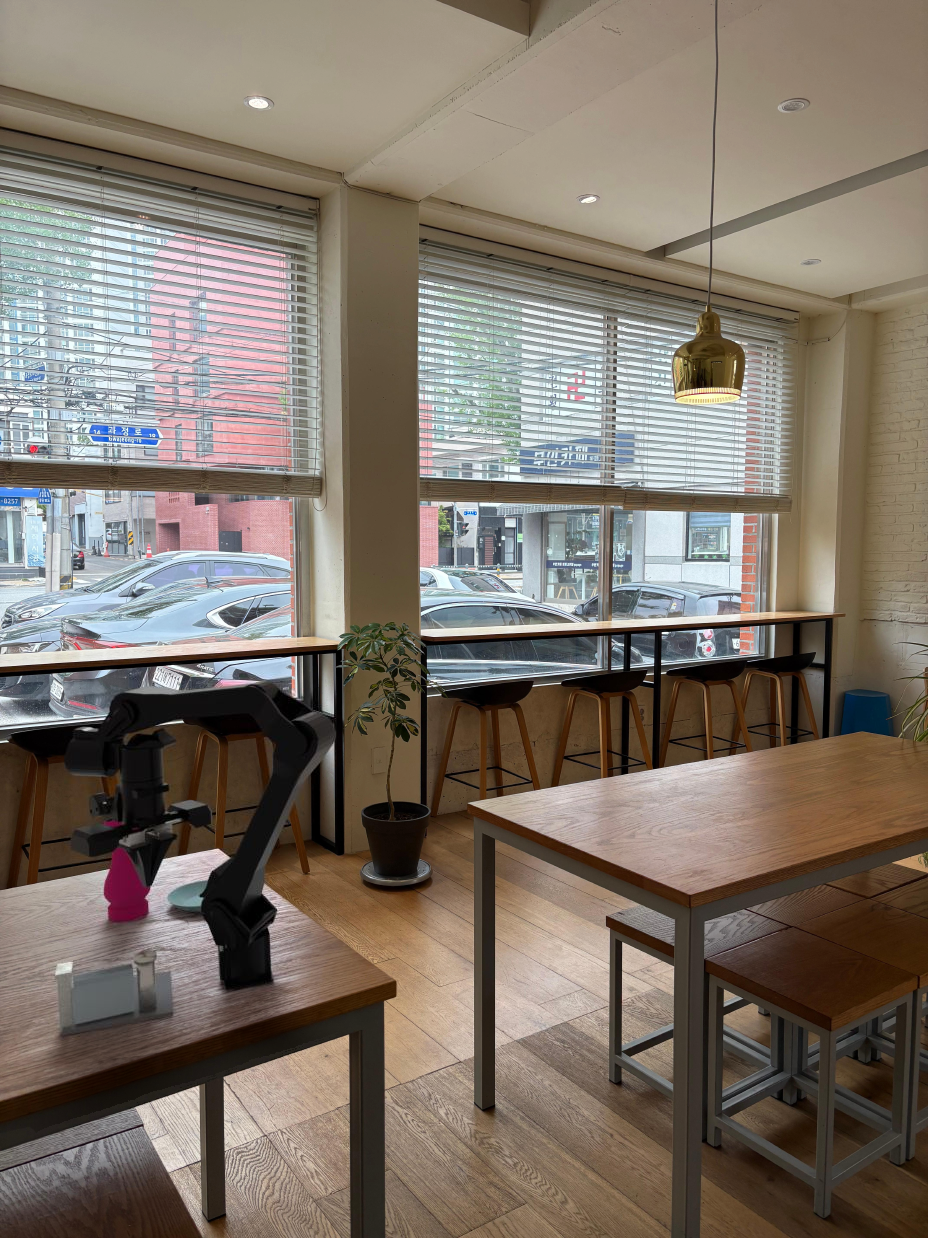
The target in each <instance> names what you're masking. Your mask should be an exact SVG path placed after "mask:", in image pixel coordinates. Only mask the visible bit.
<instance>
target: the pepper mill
mask: <svg viewBox="0 0 928 1238" xmlns="http://www.w3.org/2000/svg"><path fill="white" fill-rule="evenodd" d="M103 825H106V826H109V827H116V826H120V825H123V824H122V822H118V823H117V822H114V821H113V820H112V821H110V822H104V821H103ZM135 829H137V828H135ZM132 830H134V829H132ZM151 887H152V886H150V887H144V886H143V885H142V883H141V880H140V878H139V876H138V874H137V871H136V869H135V867H134V865H133V863H132V861H131V859H130V857H129V856H128V854H127V852H126V851H125V850H124V849H122V848H119V847H117V848H116V849H115V851H114V852H111V862H110V867H109V870H108V872H107V876H106V877H105V880H104V884H103V897H104V899H106V901H107V902H109V905H108V906H107V918H108V919H109V920H110V921H112V922H117V923H125V922H132V921H135V920H139V919H141V918H144V917H146V916H147V915H148V913H149V911H150V908H149V907H150V906H149V900H148V899H147V896H148V895H149V893H150V892H151Z"/></svg>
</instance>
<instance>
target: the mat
mask: <svg viewBox="0 0 928 1238" xmlns="http://www.w3.org/2000/svg"><path fill="white" fill-rule="evenodd" d="M155 978H156V998H157V1008H156V1010H154V1011H152V1012H149V1013H141V1012H139V1005H138V985H137V976H133V980H134V999H135V1011H131V1012H127V1013H122V1014H118V1015H114V1016H109V1017H105V1018H100V1019H96V1020H92V1021H87V1022H83V1023H78V1024H76V1019H75V1002H74V986H73V1003H74V1022H73V1028H68V1029H62V1034H61V1036H62V1037H64V1036H69V1035H75V1034H80V1033H86V1032H90V1031H96V1030H101V1029H107V1028H112V1027H118V1026H124V1025H129V1024H135V1023H139V1022H144V1021H145V1022H146V1021H151V1020H155V1019H156V1020H157V1019H160V1018H161V1019H162V1018H167V1017H173V1016H174V1011H173V1010H174V1008H173V992H172V990H173V989H172V976H171V970H169V971H161V972H158V973H156V972H155Z"/></svg>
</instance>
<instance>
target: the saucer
mask: <svg viewBox="0 0 928 1238" xmlns="http://www.w3.org/2000/svg"><path fill="white" fill-rule="evenodd" d="M207 882H208V879H205V880H198V881H194V882H190V883H186V884H183V885H181V886H179V887H176V888H174V889H173V890H172V891H170V892H169V893H168V895H167V901H168V903H169V904H170V905H172V906H174V907H176V908H177V909H179V910H181V911H184V912H188V913H201V911H200V906H201V902H202V900H203V898H200V897H199V895H200V894H201V893H202V892H203V891H204V890H205V888H206V886H207Z"/></svg>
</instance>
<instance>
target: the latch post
mask: <svg viewBox="0 0 928 1238" xmlns="http://www.w3.org/2000/svg"><path fill="white" fill-rule="evenodd" d="M73 969H74V961H68V962H63V963H62V962H61V963H57V965H56V969H55V973H54V980H56V981H57V997H58V998H57V999H58V1014H59V1015H58V1017H59V1033H60V1034H61V1035H62V1029H68V1028H73V1022H74V1003H73V987H74V984H73V971H74V970H73Z"/></svg>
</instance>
